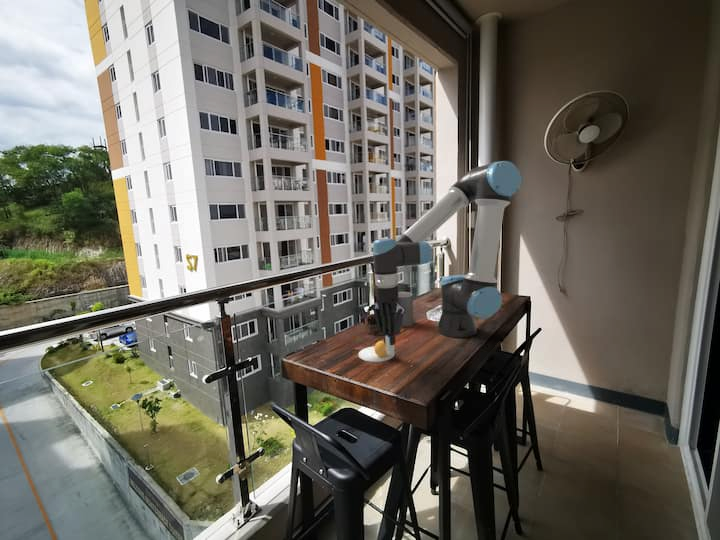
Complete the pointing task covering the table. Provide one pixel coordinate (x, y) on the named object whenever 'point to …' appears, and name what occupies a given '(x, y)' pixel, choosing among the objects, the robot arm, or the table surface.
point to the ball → (380, 349)
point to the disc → (373, 355)
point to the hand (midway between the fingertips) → (390, 352)
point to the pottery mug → (372, 323)
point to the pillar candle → (407, 302)
